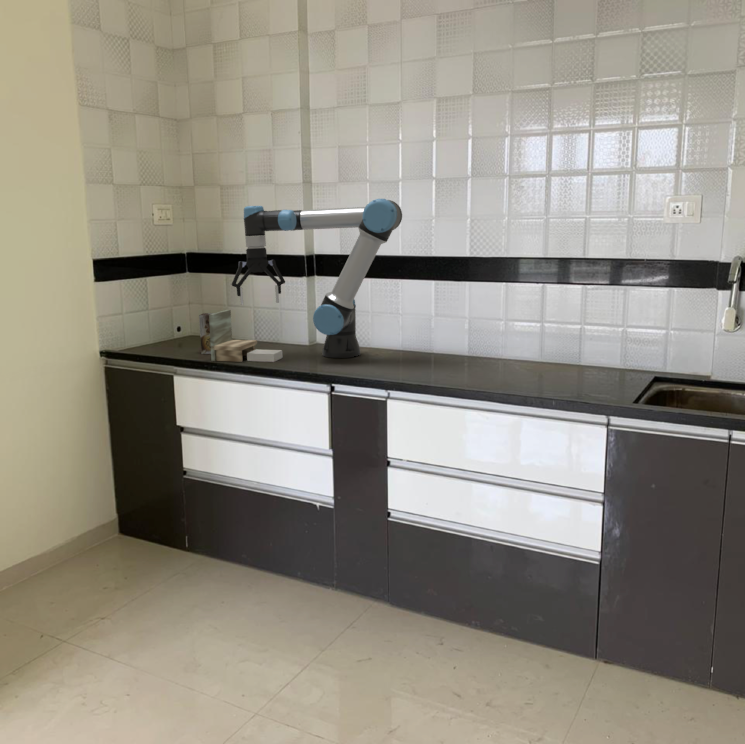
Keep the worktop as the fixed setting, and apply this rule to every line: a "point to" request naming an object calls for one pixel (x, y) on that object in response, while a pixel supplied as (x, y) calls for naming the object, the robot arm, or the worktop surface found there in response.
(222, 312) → the upright marbled panel
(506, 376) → the worktop surface
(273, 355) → the flat white block
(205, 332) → the coffee box
